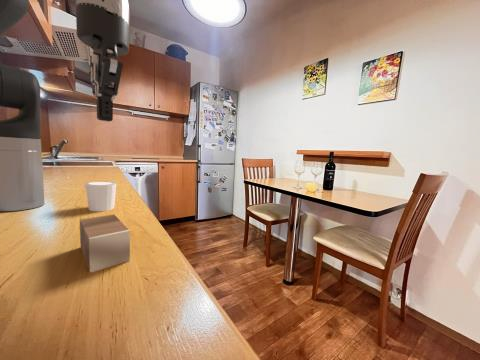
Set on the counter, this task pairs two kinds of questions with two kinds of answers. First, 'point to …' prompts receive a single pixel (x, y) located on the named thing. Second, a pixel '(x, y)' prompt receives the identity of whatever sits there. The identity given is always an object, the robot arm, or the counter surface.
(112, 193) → the shot glass
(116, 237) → the greyish brown block
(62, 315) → the counter surface
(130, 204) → the counter surface
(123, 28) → the robot arm
